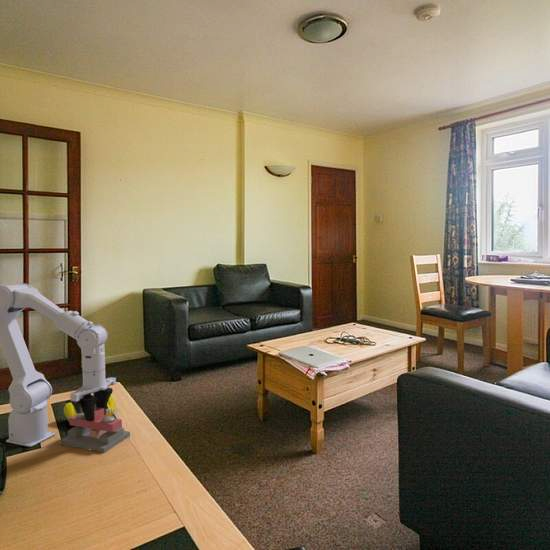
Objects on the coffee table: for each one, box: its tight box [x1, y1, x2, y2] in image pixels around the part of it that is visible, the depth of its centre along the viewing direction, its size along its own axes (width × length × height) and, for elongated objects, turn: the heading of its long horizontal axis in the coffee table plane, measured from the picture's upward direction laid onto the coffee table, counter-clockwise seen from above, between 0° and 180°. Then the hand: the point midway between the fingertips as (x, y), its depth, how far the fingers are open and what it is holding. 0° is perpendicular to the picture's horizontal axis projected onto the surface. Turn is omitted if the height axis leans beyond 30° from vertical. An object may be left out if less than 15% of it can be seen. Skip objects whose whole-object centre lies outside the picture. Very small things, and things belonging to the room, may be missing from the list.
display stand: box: [59, 426, 131, 453], centre depth 107 cm, size 15×10×3 cm, turn 71°
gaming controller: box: [63, 394, 116, 423], centre depth 121 cm, size 15×6×10 cm
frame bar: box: [69, 406, 123, 432], centre depth 107 cm, size 15×4×4 cm, turn 71°
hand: (95, 417), depth 107 cm, fingers closed on frame bar, 3 cm apart
